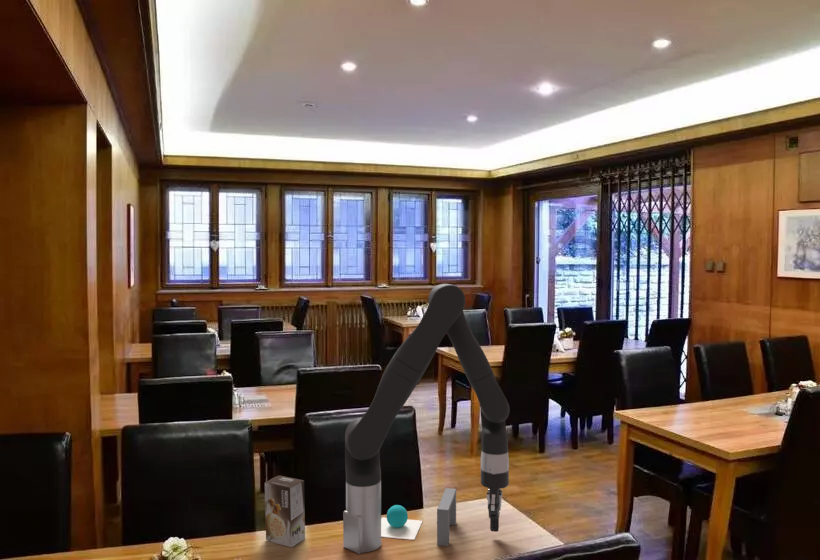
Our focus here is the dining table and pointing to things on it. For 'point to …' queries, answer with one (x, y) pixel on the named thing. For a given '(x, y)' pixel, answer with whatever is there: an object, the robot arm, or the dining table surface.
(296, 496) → the coffee box
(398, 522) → the ball
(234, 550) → the dining table surface
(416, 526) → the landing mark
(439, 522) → the bridge
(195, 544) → the dining table surface
